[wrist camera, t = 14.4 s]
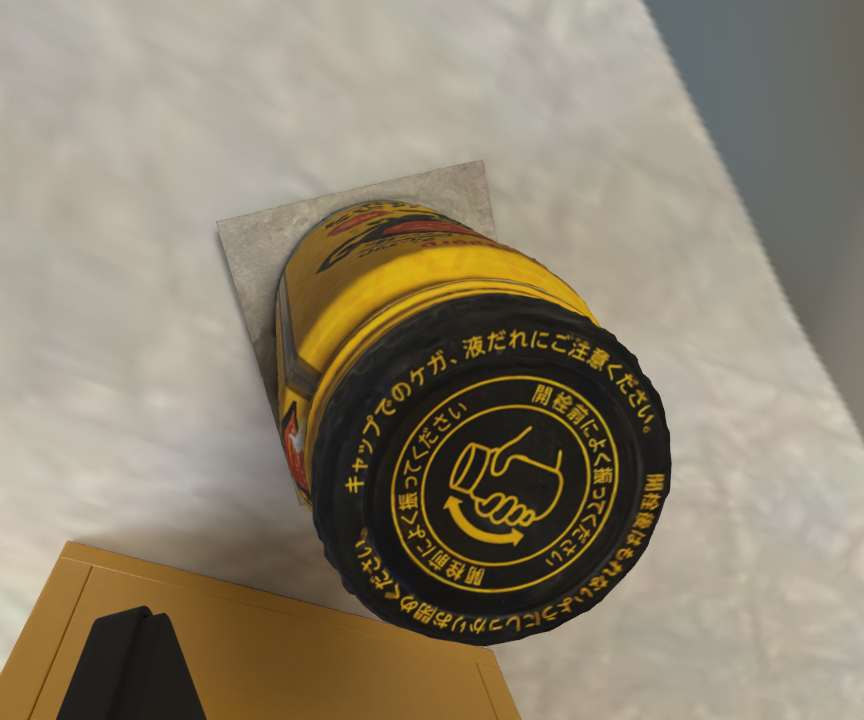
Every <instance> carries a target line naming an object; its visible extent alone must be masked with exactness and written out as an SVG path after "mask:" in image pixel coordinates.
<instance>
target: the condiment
mask: <svg viewBox="0 0 864 720" xmlns="http://www.w3.org/2000/svg"><path fill="white" fill-rule="evenodd" d="M216 223H217V227H218V230H219V233H220V237H221V240H222V243H223V247H224V250H225V253H226V257H227V260H228V263H229V267H230V270H231V273H232V277H233V280H234V283H235V286H236V290H237V293H238V297H239V300H240V303H241V307H242V310H243V313H244V317H245V320H246V323H247V327H248V330H249V334H250V337H251V341H252V344H253V347H254V350H255V354H256V357H257V361H258V364H259V368H260V371H261V376H262V378H263V381H264V385H265V389H266V392H267V396H268V399H269V402H270V405H271V408H272V412H273V415H274V419H275V422H276V426H277V429H278V432H279V435H280V439H281V443H282V446H283V449H284V452H285V456H286V459H287V463H288V466H289V470H290V474H291V477H292V481H293V484H294V487H295V490H296V494H297V497H298V500H299V504H300V506H301V505H304V504H306V506H307V507H308V509H309V510H310V511H311V512H312V513H313V522H314V525H315V528H316V531H317V534H318V537H319V539H320V540H321V541H322V542H323V544H324V555H325V558H326V559H327V560H328V562H329V563H330V564H331V565H332V566H333V567H334V568H335V569H336V570H337V571H338V572H339V574H340V575H341V580H342V584H343V587H344V588H345V589H346V591H347V592H348V593H349V594H353V595H355V596H356V597H357V598H358V600H359V601H360V602H361V603H362V604H363V605H364V606H365V607H366V608H368V609H369V610H370V611H371V612H372V613H374V614H375V615H376V616H378V617H379V618H380V619H382V620H383V621H386V622H388V623H391V624H393V625H395V626H397V627H400V628H403V629H407V630H410V631H413V632H416V633H419V634H421V635H424V636H426V637H428V638H433V639H438V640H444V641H451V642H457V643H462V644H467V645H474V646H489V645H495V644H500V643H505V642H510V641H515V640H520V639H523V638H525V637H528V636H530V635H534V634H538V633H543V632H548V631H551V630H553V629H555V628H557V627H559V626H560V625H562V624H563V623H565V622H567V621H569V620H571V619H573V618H575V617H576V616H578V615H580V614H582V613H585V612H587V611H589V610H590V609H592V608H593V607H594V606H595V605H596V604H598V603H599V602H601V601H602V600H603V599H604V598H605V596H606V595H607V594H608V593H609V592H610V591H611V590H612V589H613V588H614V587H615V586H616V585H617V584H618V583H619V582H620V581H621V580H622V579H623V578H624V577H625V576H626V574H627V573H628V572H629V571H630V570H631V569H632V568H633V567H634V566H635V565H636V563H637V562H638V560H639V559H640V557H641V556H642V554H643V553H644V551H645V550H646V548H647V546H648V544H649V541H650V538H651V536H652V534H653V531H654V529H655V526H656V524H657V522H658V520H659V517H660V514H661V511H662V508H663V505H664V502H665V499H666V497H667V496H668V494H669V492H670V482H671V465H672V463H671V453H670V432H669V429H668V427H667V424H666V418H665V411H664V408H663V405H662V402H661V398H660V395H659V393H658V392H657V391H656V390H655V388H654V387H653V386H652V384H651V381H650V379H649V378H648V377H647V376H646V375H644V374H643V373H642V370H641V368H640V366H639V363H638V359H637V357H636V356H635V355H634V354H632V353H631V352H630V351H629V350H627V348H626V347H625V346H623V345H622V344H621V343H620V342H618V341H617V339H616V337H615V335H613V334H612V333H610V332H608V331H607V330H606V329H604V328H601V327H600V325H599V324H598V322H597V320H596V319H595V318H594V316H593V315H592V313H591V312H590V310H589V309H588V307H587V305H586V303H585V302H584V301H583V300H582V299H581V298H580V297H579V295H578V294H577V293H576V292H575V291H574V290H573V289H572V288H571V287H570V286H569V285H568V284H567V283H565V282H564V281H563V280H562V279H560V278H559V277H558V276H556V275H554V274H553V273H551V272H550V271H549V270H548V269H547V268H546V267H545V266H543V265H542V264H540V263H539V262H538V261H537V260H536V259H534V258H530V257H528V256H526V255H524V254H523V253H521V252H519V251H517V250H515V249H513V248H510V247H508V246H506V245H502V244H499V243H497V239H496V234H495V229H494V223H493V216H492V210H491V205H490V201H489V195H488V189H487V183H486V177H485V170H484V161H483V160H479V161H474V162H470V163H466V164H461V165H457V166H453V167H448V168H444V169H438V170H435V171H431V172H427V173H422V174H418V175H413V176H409V177H404V178H400V179H396V180H391V181H387V182H382V183H378V184H374V185H369V186H365V187H361V188H357V189H353V190H348V191H344V192H340V193H335V194H331V195H327V196H323V197H318V198H314V199H310V200H306V201H301V202H297V203H293V204H289V205H283V206H280V207H277V208H274V209H268V210H264V211H260V212H255V213H251V214H247V215H243V216H238V217H234V218H230V219H225V220H221V221H216Z"/></svg>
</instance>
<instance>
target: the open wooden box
mask: <svg viewBox="0 0 864 720" xmlns="http://www.w3.org/2000/svg"><path fill="white" fill-rule="evenodd" d="M143 605H145V606H147V607H149V609H150V610H151V611H152V613H153V615H156V614H160V613H166V614H167V615H168V616H169V618H170V620H171V622H172V625H173V628H174V630H175V633H176V636H177V639H178V641H179V644H180V647H181V650H182V652H183V655H184V658H185V661H186V663H187V666H188V669H189V672H190V674H191V677H192V680H193V683H194V685H195V688H196V691H197V694H198V696H199V699H200V702H201V705H202V707H203V710H204V713H205V716H206V718H207V720H521V718H520V716H519V713H518V711H517V708H516V706H515V704H514V701H513V699H512V696H511V694H510V692H509V689H508V687H507V684H506V682H505V680H504V677H503V675H502V673H501V670H500V669H499V665H498V662H497V660H496V657H495V655H494V653H493V651H491V650H487V649H483V648H480V647H476V646H472V645H467V644H462V643H457V642H451V641H444V640H438V639H433V638H428V637H426V636H424V635H421V634H419V633H416V632H413V631H410V630H407V629H403V628H400V627H397V626H395V625H391V624H387V623H383V622H379V621H375V620H372V619H368V618H364V617H360V616H356V615H352V614H348V613H345V612H341V611H337V610H333V609H329V608H325V607H321V606H318V605H314V604H310V603H306V602H302V601H298V600H294V599H291V598H287V597H283V596H279V595H275V594H271V593H267V592H264V591H260V590H256V589H252V588H248V587H244V586H240V585H237V584H233V583H229V582H225V581H221V580H217V579H213V578H210V577H206V576H202V575H198V574H194V573H190V572H186V571H183V570H179V569H175V568H171V567H167V566H163V565H159V564H156V563H152V562H148V561H144V560H140V559H136V558H132V557H129V556H125V555H121V554H117V553H113V552H109V551H105V550H102V549H98V548H94V547H90V546H86V545H82V544H78V543H75V542H71V541H67V542H66V544H65V546H64V548H63V550H62V552H61V554H60V556H59V558H58V560H57V562H56V564H55V566H54V568H53V570H52V572H51V574H50V576H49V578H48V580H47V582H46V584H45V586H44V588H43V590H42V592H41V594H40V596H39V598H38V600H37V602H36V604H35V606H34V608H33V610H32V612H31V614H30V616H29V618H28V620H27V622H26V624H25V626H24V628H23V630H22V632H21V634H20V636H19V638H18V640H17V642H16V644H15V646H14V648H13V650H12V652H11V654H10V656H9V658H8V660H7V662H6V664H5V666H4V668H3V670H2V672H1V674H0V720H56V718H57V715H58V712H59V710H60V707H61V705H62V702H63V699H64V697H65V694H66V692H67V689H68V687H69V684H70V681H71V679H72V676H73V674H74V671H75V668H76V666H77V663H78V661H79V658H80V656H81V653H82V650H83V648H84V645H85V643H86V640H87V637H88V635H89V632H90V630H91V627H92V625H93V623H94V621H95V620H96V619H97V618H99V617H103V616H107V615H110V614H114V613H118V612H121V611H125V610H129V609H132V608H136V607H140V606H143Z"/></svg>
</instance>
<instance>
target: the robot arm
mask: <svg viewBox="0 0 864 720" xmlns="http://www.w3.org/2000/svg"><path fill="white" fill-rule="evenodd" d="M56 720H207V718H206V716H205V713H204V710H203V707H202V705H201V702H200V699H199V696H198V694H197V691H196V688H195V685H194V683H193V680H192V677H191V674H190V672H189V669H188V666H187V663H186V661H185V658H184V655H183V652H182V650H181V647H180V644H179V641H178V639H177V636H176V633H175V630H174V628H173V625H172V622H171V620H170V618H169V616H168V615H167V614H166V613H160V614H156V615H153V613H152V611H151V610H150V609H149V607H147V606H145V605H143V606H140V607H136V608H132V609H129V610H125V611H121V612H118V613H114V614H110V615H107V616H103V617H99V618H97V619H96V620H95V621H94V623H93V625H92V627H91V630H90V632H89V635H88V637H87V640H86V643H85V645H84V648H83V650H82V653H81V656H80V658H79V661H78V663H77V666H76V668H75V671H74V674H73V676H72V679H71V681H70V684H69V687H68V689H67V692H66V694H65V697H64V699H63V702H62V705H61V707H60V710H59V712H58V715H57V718H56Z"/></svg>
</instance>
